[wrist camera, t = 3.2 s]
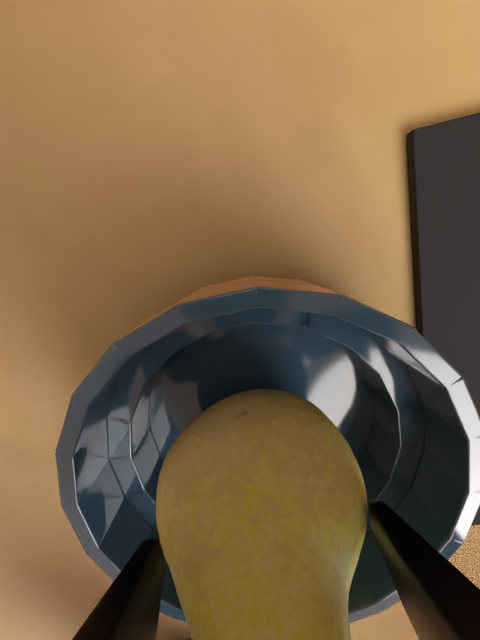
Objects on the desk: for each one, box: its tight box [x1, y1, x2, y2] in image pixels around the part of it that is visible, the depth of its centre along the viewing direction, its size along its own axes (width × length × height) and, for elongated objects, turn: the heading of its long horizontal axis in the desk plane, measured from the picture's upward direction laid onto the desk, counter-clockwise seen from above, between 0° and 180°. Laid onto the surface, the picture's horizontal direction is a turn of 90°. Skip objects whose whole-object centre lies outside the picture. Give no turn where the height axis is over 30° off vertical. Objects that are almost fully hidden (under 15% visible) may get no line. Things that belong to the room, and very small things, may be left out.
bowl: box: [55, 275, 480, 623], centre depth 11 cm, size 14×14×4 cm
